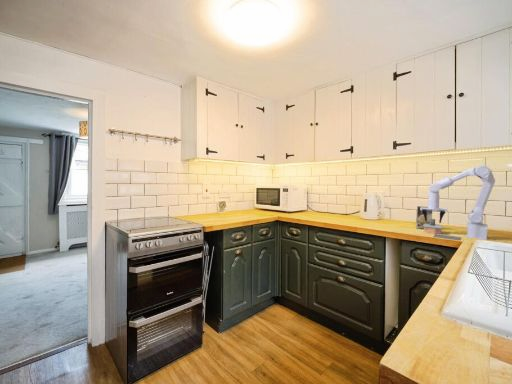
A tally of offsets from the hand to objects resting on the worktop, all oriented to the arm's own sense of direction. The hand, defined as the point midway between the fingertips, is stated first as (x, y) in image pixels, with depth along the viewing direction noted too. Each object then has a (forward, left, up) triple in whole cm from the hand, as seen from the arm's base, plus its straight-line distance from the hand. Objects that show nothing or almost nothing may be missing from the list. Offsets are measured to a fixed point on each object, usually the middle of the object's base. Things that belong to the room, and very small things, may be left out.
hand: (432, 222), depth 165 cm
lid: (0, 0, -3) cm, 3 cm away
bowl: (0, 0, -7) cm, 7 cm away
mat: (-8, +11, -7) cm, 16 cm away
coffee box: (+7, -15, -8) cm, 18 cm away
